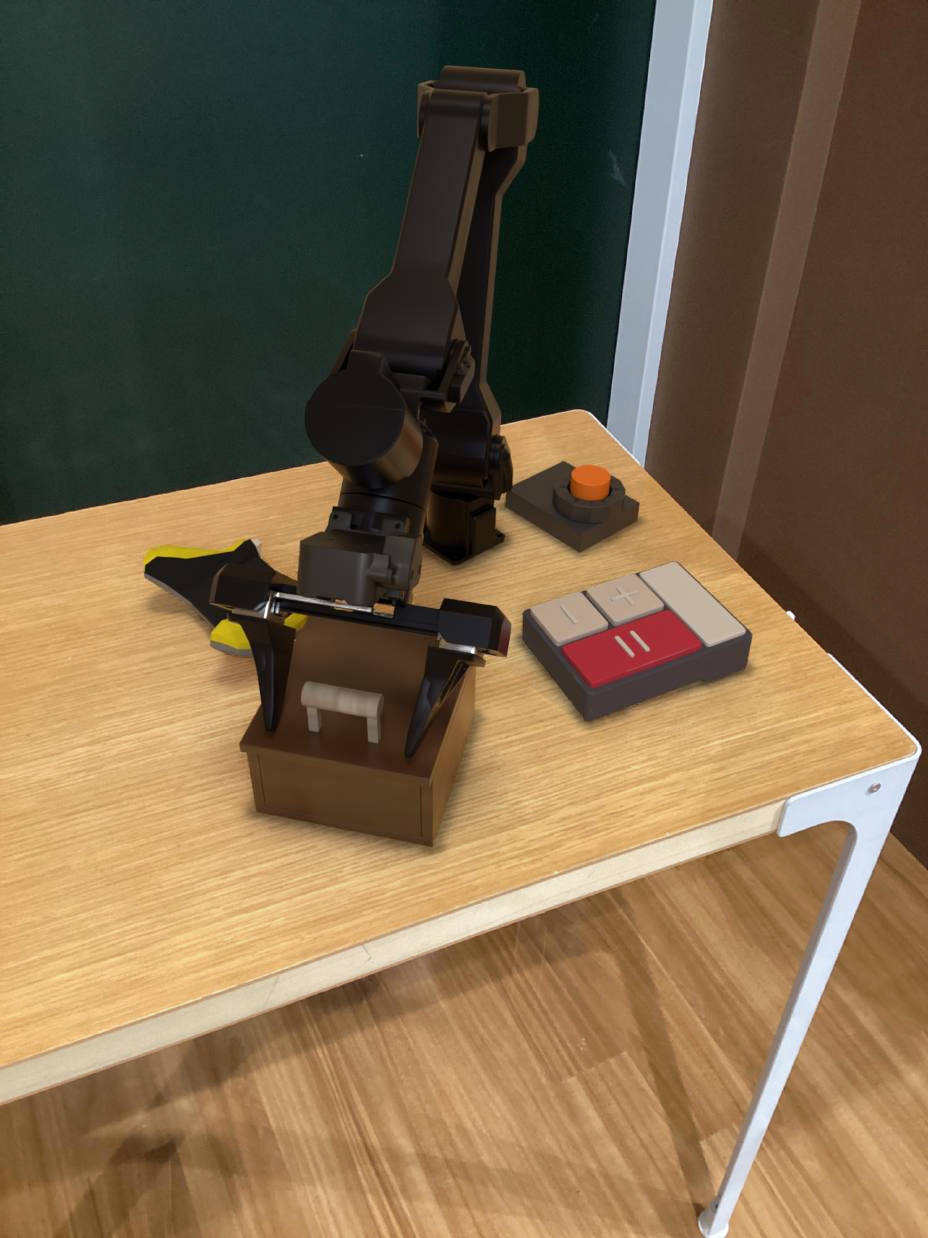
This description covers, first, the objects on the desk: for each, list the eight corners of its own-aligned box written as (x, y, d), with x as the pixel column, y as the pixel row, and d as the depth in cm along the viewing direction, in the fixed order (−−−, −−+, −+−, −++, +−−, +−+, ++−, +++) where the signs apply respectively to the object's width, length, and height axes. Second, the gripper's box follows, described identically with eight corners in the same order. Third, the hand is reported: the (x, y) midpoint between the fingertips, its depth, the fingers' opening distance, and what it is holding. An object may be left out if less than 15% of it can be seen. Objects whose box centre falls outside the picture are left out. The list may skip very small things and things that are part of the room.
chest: (432, 847, 72) (432, 779, 67) (255, 812, 74) (244, 743, 69) (474, 719, 81) (476, 651, 77) (316, 690, 83) (310, 623, 79)
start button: (561, 489, 99) (563, 473, 98) (588, 476, 101) (590, 460, 100) (590, 506, 97) (592, 489, 96) (616, 492, 99) (618, 475, 98)
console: (504, 507, 104) (506, 471, 101) (562, 479, 108) (565, 444, 105) (581, 554, 98) (585, 518, 95) (639, 522, 102) (644, 487, 99)
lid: (429, 788, 67) (429, 736, 64) (240, 752, 69) (231, 700, 66) (476, 650, 77) (478, 600, 74) (310, 623, 79) (305, 573, 76)
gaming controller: (230, 695, 83) (337, 642, 88) (221, 641, 79) (333, 589, 84) (141, 600, 91) (243, 557, 96) (129, 548, 88) (236, 506, 93)
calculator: (520, 603, 86) (677, 551, 91) (520, 643, 89) (672, 591, 93) (589, 688, 78) (757, 627, 83) (586, 729, 81) (749, 668, 86)
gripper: (199, 453, 63) (146, 716, 61) (511, 497, 60) (462, 775, 58) (262, 496, 74) (219, 720, 72) (528, 535, 71) (488, 769, 69)
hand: (338, 744), depth 68 cm, fingers open, 9 cm apart
